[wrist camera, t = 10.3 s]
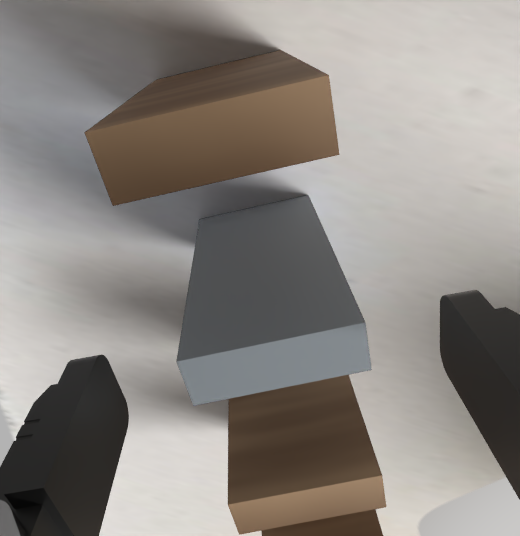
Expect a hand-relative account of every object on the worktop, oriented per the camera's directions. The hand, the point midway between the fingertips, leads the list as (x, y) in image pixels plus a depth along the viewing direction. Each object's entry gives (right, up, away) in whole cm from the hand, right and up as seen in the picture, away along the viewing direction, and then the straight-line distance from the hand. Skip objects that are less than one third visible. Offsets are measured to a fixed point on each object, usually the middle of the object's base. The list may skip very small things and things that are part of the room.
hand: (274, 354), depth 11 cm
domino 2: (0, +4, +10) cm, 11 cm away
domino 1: (-2, +9, +7) cm, 12 cm away
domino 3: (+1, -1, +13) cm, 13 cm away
